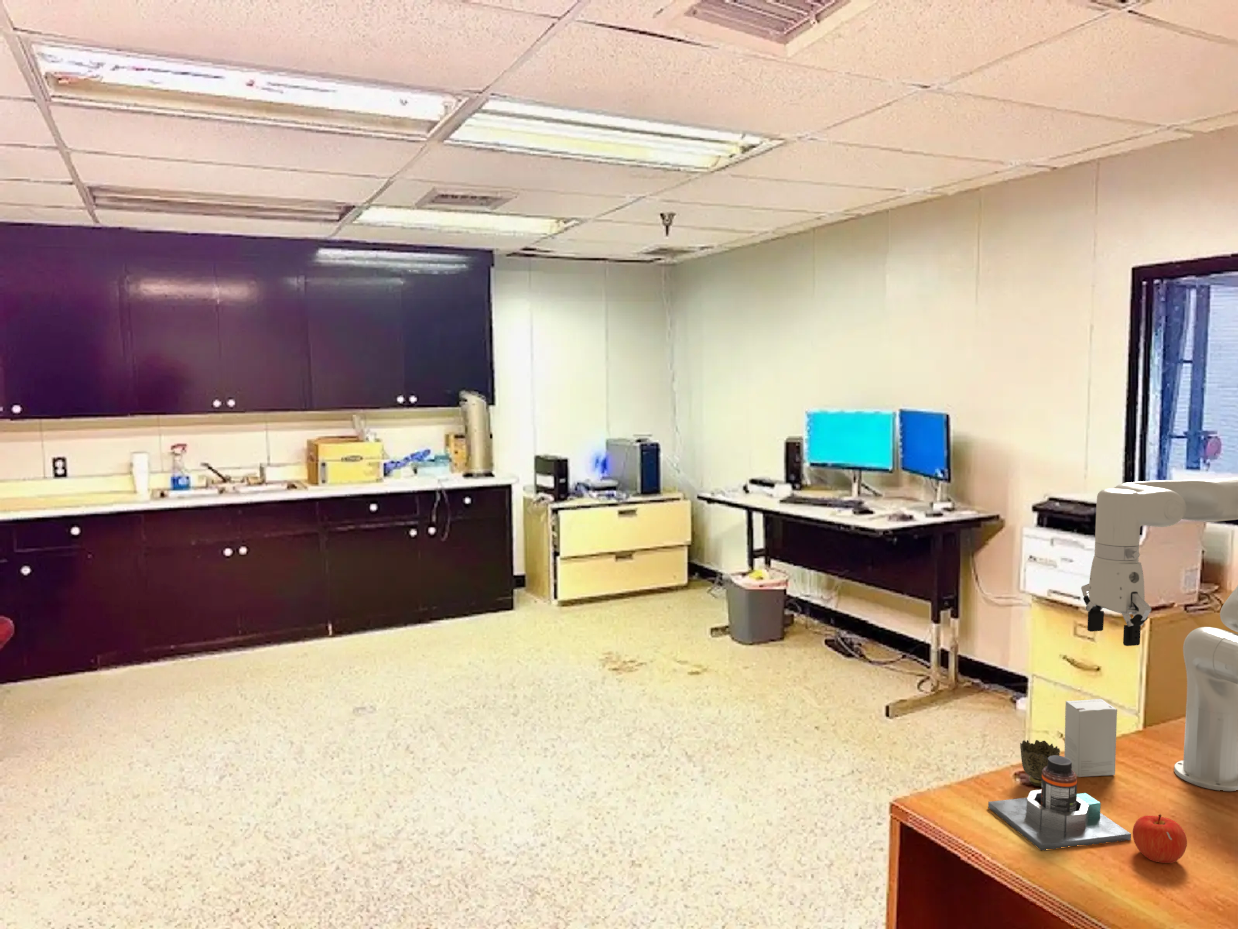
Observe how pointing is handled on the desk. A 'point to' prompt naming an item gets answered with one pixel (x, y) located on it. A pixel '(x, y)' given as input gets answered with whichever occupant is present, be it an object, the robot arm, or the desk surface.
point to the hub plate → (1056, 836)
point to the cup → (1036, 758)
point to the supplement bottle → (1059, 785)
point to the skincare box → (1091, 737)
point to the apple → (1159, 838)
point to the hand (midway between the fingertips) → (1112, 637)
